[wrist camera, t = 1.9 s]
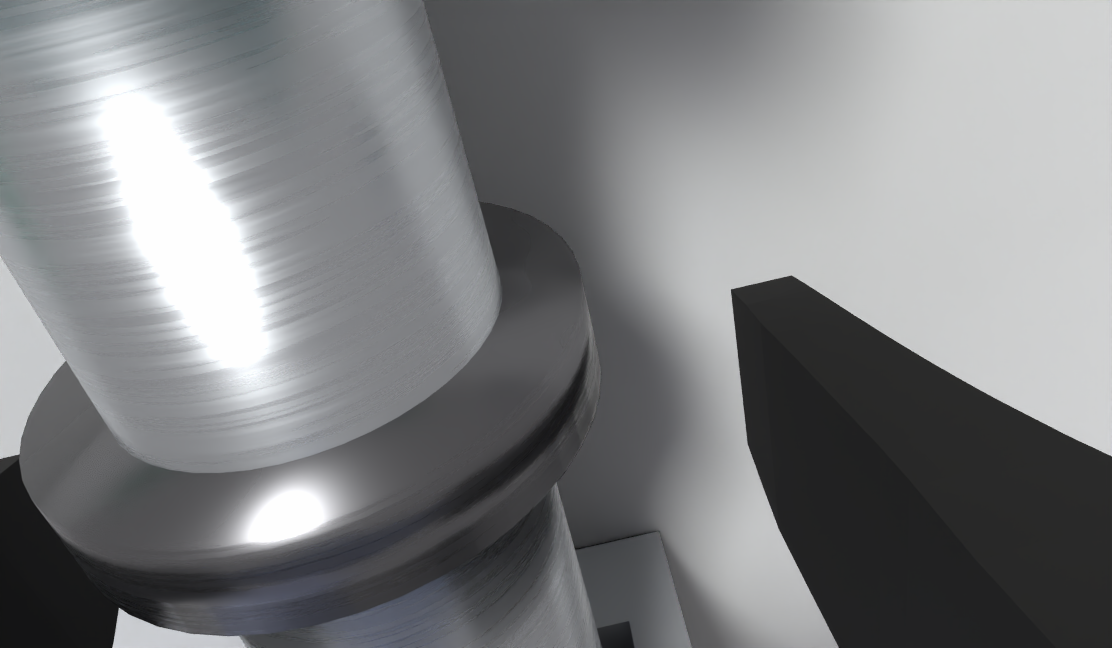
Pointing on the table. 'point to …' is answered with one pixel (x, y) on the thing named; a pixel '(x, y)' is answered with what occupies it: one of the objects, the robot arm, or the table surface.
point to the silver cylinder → (288, 329)
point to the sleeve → (633, 594)
